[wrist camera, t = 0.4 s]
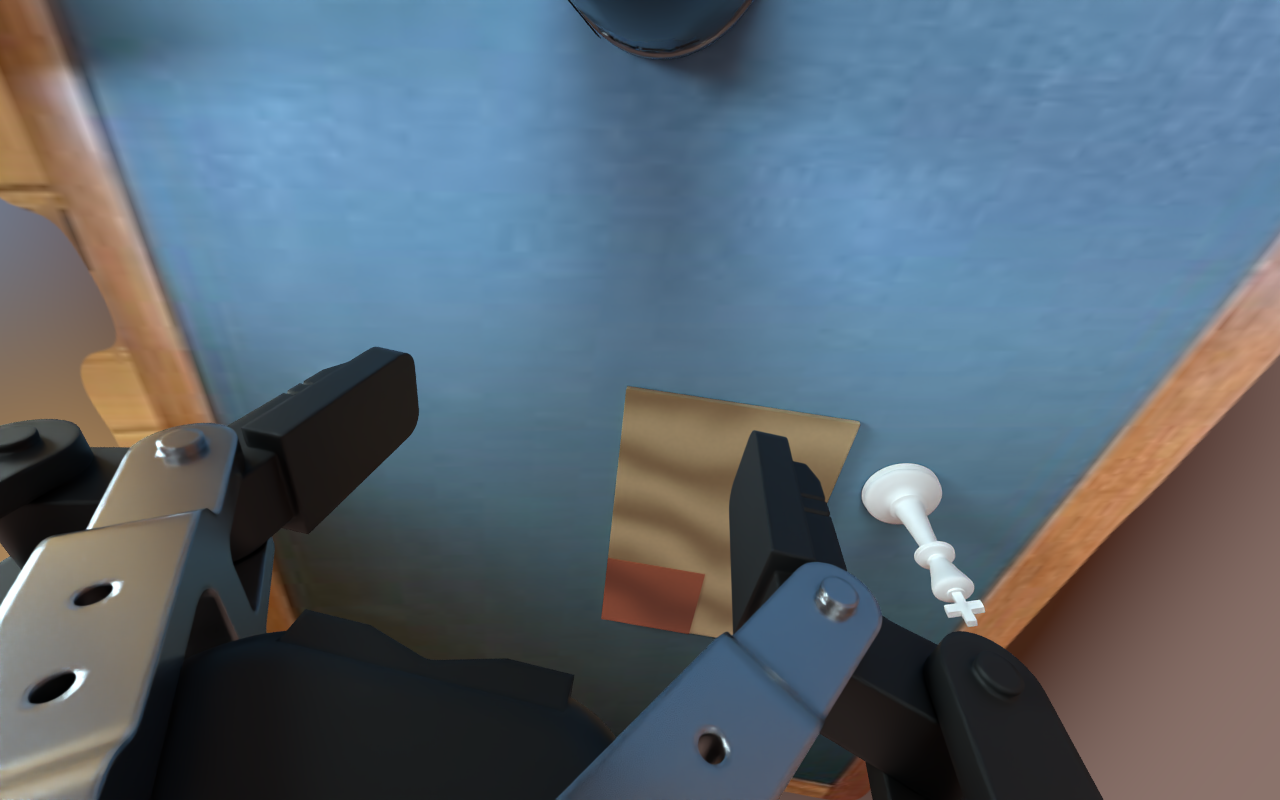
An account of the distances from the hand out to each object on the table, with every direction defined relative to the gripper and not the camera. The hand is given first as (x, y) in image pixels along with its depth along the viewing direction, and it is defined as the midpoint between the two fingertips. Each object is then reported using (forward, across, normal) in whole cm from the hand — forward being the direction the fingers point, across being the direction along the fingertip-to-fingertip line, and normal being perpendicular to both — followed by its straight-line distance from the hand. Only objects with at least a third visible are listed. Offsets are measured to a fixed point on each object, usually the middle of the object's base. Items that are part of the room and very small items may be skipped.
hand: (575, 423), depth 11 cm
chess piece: (+18, -19, +12) cm, 29 cm away
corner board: (+18, -8, +20) cm, 28 cm away
